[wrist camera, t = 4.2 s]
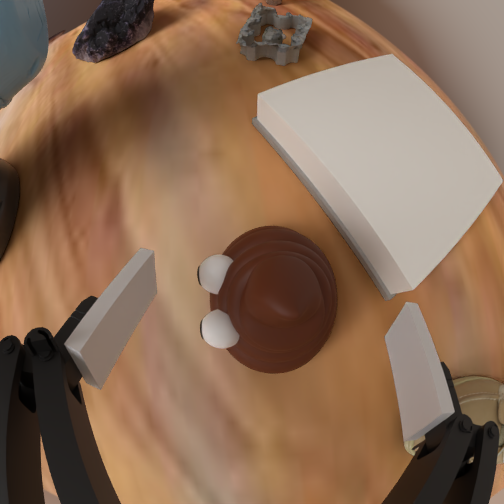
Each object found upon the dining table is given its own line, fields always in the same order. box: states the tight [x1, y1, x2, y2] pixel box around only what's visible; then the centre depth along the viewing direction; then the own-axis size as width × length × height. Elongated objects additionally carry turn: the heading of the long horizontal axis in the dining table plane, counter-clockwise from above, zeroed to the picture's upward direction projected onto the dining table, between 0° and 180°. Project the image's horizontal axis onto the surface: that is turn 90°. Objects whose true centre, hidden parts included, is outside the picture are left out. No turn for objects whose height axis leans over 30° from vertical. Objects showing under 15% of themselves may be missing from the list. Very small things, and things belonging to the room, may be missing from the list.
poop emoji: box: [197, 226, 337, 373], centre depth 15 cm, size 10×8×9 cm
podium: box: [252, 54, 503, 301], centre depth 20 cm, size 19×19×4 cm
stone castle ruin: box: [236, 3, 312, 66], centre depth 24 cm, size 11×8×4 cm
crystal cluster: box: [73, 0, 154, 63], centre depth 23 cm, size 13×14×10 cm
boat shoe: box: [404, 376, 504, 464], centre depth 12 cm, size 25×9×8 cm, turn 68°
